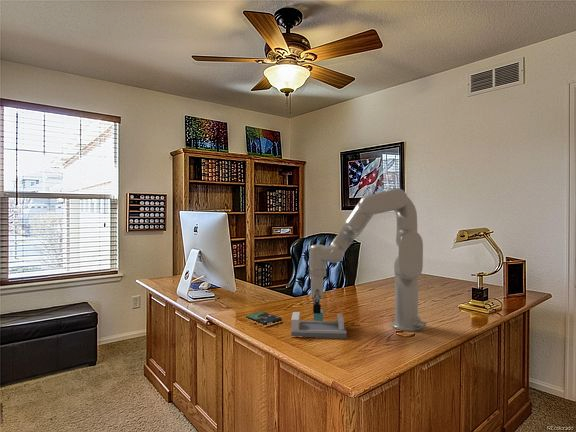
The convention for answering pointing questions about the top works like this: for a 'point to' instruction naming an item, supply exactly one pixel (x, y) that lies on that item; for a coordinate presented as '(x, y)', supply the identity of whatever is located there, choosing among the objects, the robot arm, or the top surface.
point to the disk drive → (263, 318)
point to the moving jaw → (340, 322)
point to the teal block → (318, 316)
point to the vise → (315, 328)
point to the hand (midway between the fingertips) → (316, 310)
